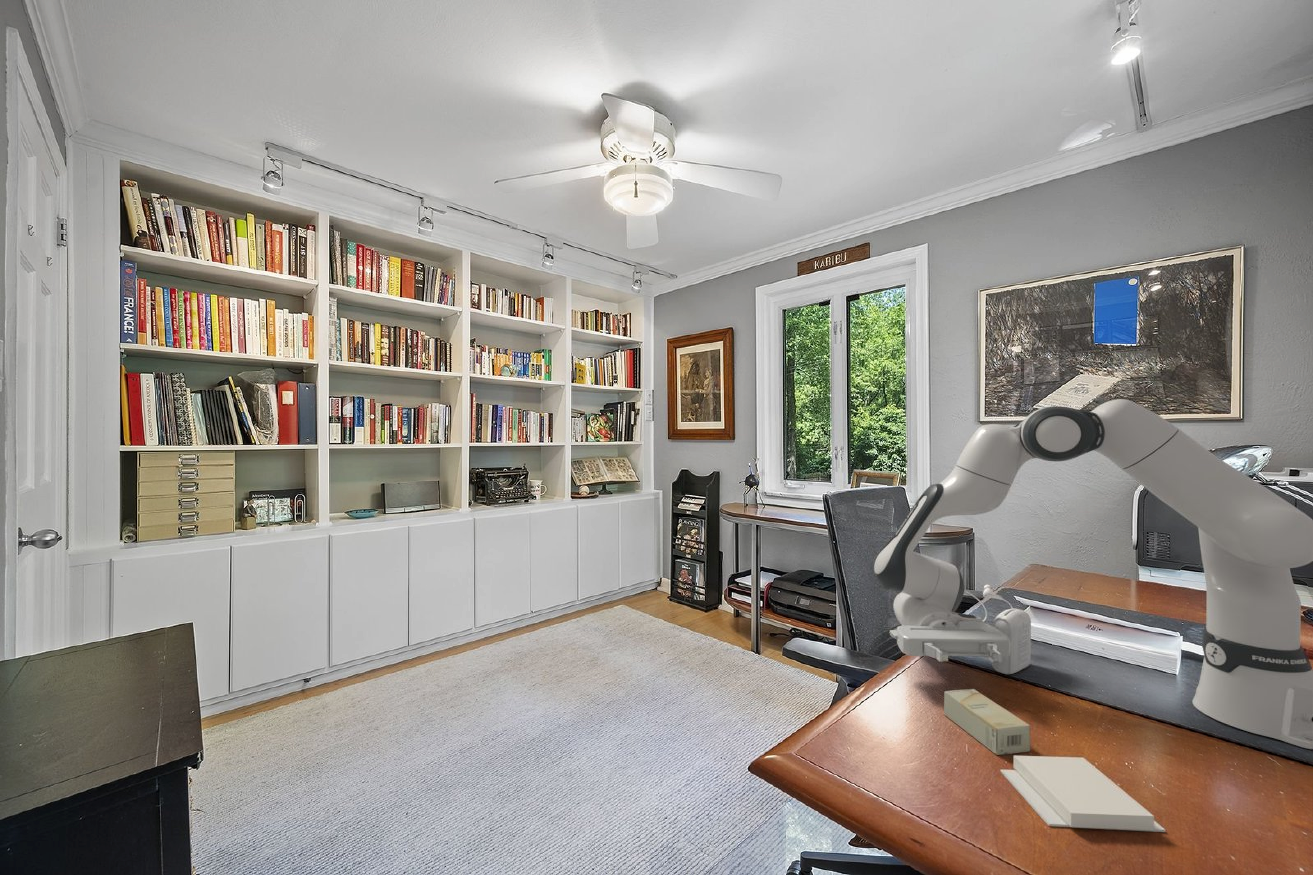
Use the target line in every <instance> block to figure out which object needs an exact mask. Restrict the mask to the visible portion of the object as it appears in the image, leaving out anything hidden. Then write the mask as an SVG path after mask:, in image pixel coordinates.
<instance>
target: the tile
mask: <svg viewBox="0 0 1313 875" xmlns="http://www.w3.org/2000/svg"><path fill="white" fill-rule="evenodd" d="M1012 766H1013V770H1016V771H1017V772H1018V773H1019V774H1020V775H1021V776H1022V777H1023V778H1024V779H1025V780H1026V781H1027V782H1028V783H1029V784H1030V785H1031V786H1032V787H1033V788H1034V789H1035V790H1036V791H1037V792H1038V793H1039V794H1040V795H1041V796H1042V798H1043V799H1044V800H1045V801H1046V802H1047V803H1048V804H1049V805H1050V806H1051V807H1052V808H1053V809H1054V810H1055V811H1056V812H1057V813H1058V814H1059V815H1060V816H1061V817H1062V818H1063V819H1064V820H1065V821H1066V822H1067V823H1068V824H1069V825H1070V827H1069V828H1075V827H1081V828H1080V829H1095V828H1107V829H1106V830H1114V829H1134V830H1154V821H1155V815H1154V814H1152V813H1151V812H1149V810H1147V809H1146V807H1143V806H1142V805H1141V804H1140V803H1139V802H1138V801H1137V800H1135V799H1134V798H1133V797H1131V795H1129V794H1128V793H1127V792H1125V791H1124V790H1123V789H1122V788H1121V787H1120V786H1119V785H1117V784H1116V783H1115V782H1113V781H1112V780H1111V779H1110V778H1109V777H1107V776H1106V775H1105V774H1104V773H1102V772H1101V771H1100V770H1099V769H1097V768H1096V767H1095V766H1094V765H1093V764H1091V762H1089V761H1088V759H1085V757H1076V756H1075V757H1073V756H1044V755H1040V756H1039V755H1036V756H1035V755H1013V765H1012ZM1134 830H1133V831H1134Z"/></svg>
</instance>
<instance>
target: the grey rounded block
mask: <svg viewBox="0 0 1313 875" xmlns="http://www.w3.org/2000/svg"><path fill="white" fill-rule="evenodd" d="M992 626H993V627H995V628H996V629H998V630H999V631H1001V632H1002V633H1004V634H1005V635H1006V636H1007V637H1008V638H1009V639H1010V644H1011V651H1010V655H1009V656H1008V657H1002V662H1001V663H993V662H991V663H992V668H993V669H994V670H995V671H996V672H998V673H1001V674H1002V675H1003V674H1004V675H1013V674H1015V673H1017V672H1020V671H1022V670H1023V669H1026V668H1027V667H1029V666H1030V665H1031V655H1032V654H1031V653H1032V652H1031V650H1032V648H1031V647H1032V646H1031V644H1032V637H1031V636H1032V621H1031V616H1030V615H1029V614H1028V612H1027V611H1025V610H1023V609H1019V608H1014V607H1013V608H1012V609H1011V608H1008V609H1006V610H1003V611H1001V612H1000V613H998V614H997V616H996V617H995V618H994V619H993V622H992Z"/></svg>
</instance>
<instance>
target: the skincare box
mask: <svg viewBox="0 0 1313 875" xmlns="http://www.w3.org/2000/svg"><path fill="white" fill-rule="evenodd" d="M943 696H944V699H943V701H944V702H943V715H944V716H946V717H947V718H948V719H949V720H951V721H952V722H954V723H955V724H956V725H957V726H959V727H960V728H961V729H962V730H964V731H965V732H966V733H968V734H969V735H970V736H971V737H972V738H974V739H975V740H976V741H978V742H980V743H981V744H982V745H983V746H984V747H985V748H986V749H988V750H990V751H991V752H992V753H993V754H995V755H997V756H998V755H1010V754H1018V753H1020V754H1021V753H1026V752H1030V751H1031V725H1030V724H1029V723H1027V722H1026V721H1024V720H1023V719H1021V718H1019V717H1018V716H1016V715H1014V714H1013V713H1012V712H1010V711H1009V710H1007V709H1006V708H1004V707H1003V706H1001V705H999V704H997V703H996V702H994V701H993V700H992V699H990V698H988V697H987V696H985V695H983V694H982V693H981V692H979V691H977V690H976V689H975V688H970V689H969V688H968V689H967V688H966V689H955V690H946V691H944V695H943Z"/></svg>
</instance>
